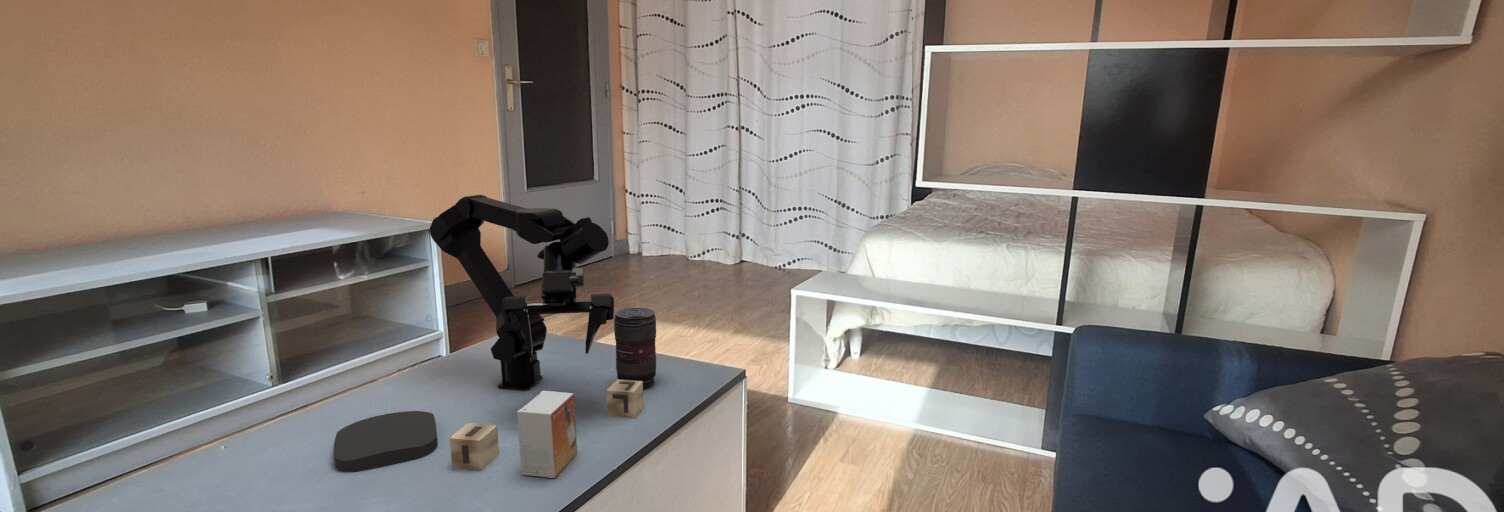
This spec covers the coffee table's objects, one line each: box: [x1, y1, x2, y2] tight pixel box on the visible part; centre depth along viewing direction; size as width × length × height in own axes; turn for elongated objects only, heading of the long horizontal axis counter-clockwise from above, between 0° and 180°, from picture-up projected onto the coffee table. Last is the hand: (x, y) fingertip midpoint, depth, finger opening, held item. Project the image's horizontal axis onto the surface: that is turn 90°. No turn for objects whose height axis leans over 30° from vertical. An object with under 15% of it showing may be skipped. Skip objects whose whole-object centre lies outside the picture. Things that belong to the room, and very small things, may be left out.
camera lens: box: [613, 307, 657, 390], centre depth 135 cm, size 8×8×15 cm
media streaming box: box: [333, 410, 438, 473], centre depth 111 cm, size 15×15×3 cm
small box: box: [516, 390, 578, 479], centre depth 105 cm, size 8×6×10 cm
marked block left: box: [449, 422, 500, 471], centre depth 106 cm, size 5×5×5 cm
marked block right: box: [606, 378, 645, 419], centre depth 124 cm, size 5×5×5 cm
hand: (559, 354), depth 115 cm, fingers open, 9 cm apart
